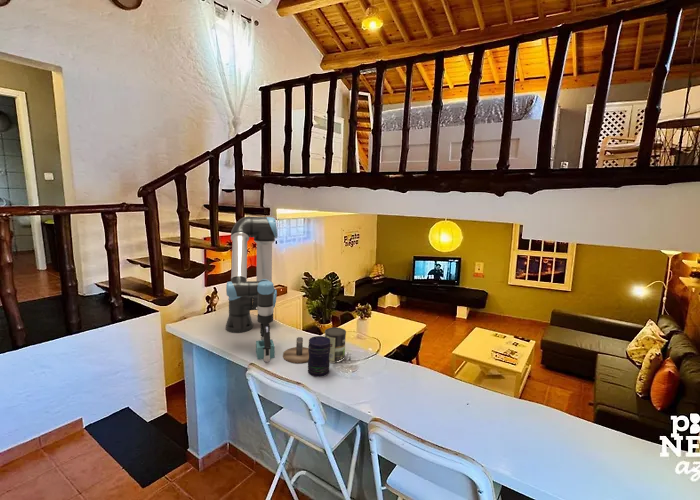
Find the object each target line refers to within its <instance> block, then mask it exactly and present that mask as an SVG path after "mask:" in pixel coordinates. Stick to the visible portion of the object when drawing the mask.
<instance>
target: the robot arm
mask: <svg viewBox="0 0 700 500" xmlns="http://www.w3.org/2000/svg"><path fill="white" fill-rule="evenodd" d="M230 232H231V233H230V241H232V244H231V245H232V248H231V250H232V251H231V272H230V273H231V276H230V281H227V282H226V285H225V286H226V287H225V288H226V293H225V294H226V296H227V297H228V299H227V300H228V317H227V319H226V323H225V330H226V331H227V332H230V333H245V332H248V331H251V330H252V329H253V328H254V322H253V319H252V316H251V311H257V317H256V318H257V320H256V321H257V323H259V324H260V330H259V333H260V340H264V348H263V349H264V359H263V363H266V362H270V361H271V358H270V349H271V345H270V339H271V326H270V324H271V323H273V322H274V308H275V307H276V304H277V297H278V296H277V295H278V293H277V289H275V286H274V283H273V243H274V242H275V241H276V239H277V238H278V237H279V236H278V228H277V221H276V218H275V217H272V216H244V217H242V218H240V219H239V220H238V221H236V223H235V224H234V225H233V227H232V229H231V231H230ZM250 238H253V242H254V243H255V244H256V281H255V280H253V281H252V280H251V281H247V280H248V279H247V278H248V277H247V275H248V272H247V271H248V241H249V240H250Z"/></svg>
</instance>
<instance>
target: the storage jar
mask: <svg viewBox="0 0 700 500" xmlns="http://www.w3.org/2000/svg"><path fill="white" fill-rule="evenodd" d="M307 348H308V352H309V359H308V362H307V374H308V375H310V376H311V377H315V378H321V377H322V378H323V377H325V376H327V375H329V373H330V360H329V353H330V339H329V338H327V337H325V335H321V336H320V335H316V336H312V337H310V338H309V339H308V347H307Z"/></svg>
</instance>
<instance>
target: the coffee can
mask: <svg viewBox="0 0 700 500" xmlns="http://www.w3.org/2000/svg"><path fill="white" fill-rule="evenodd" d="M346 335H347V331H346V330H345V329H344V328H341V327H328V328H326V329H325V330H324V337H327V338H329V339H330V353H329V360H330V363H331V364H336V363H335V362H337V361H339V360H341V359H343V358H344V357H345V356H346V355H345V353H346ZM345 358H346V357H345Z"/></svg>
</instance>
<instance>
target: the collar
mask: <svg viewBox="0 0 700 500" xmlns="http://www.w3.org/2000/svg"><path fill="white" fill-rule="evenodd" d="M270 345H271V349H270V359H273V358H275V351H276V350H275V349H276V348H275V347H276V346H275V344H274V340H273V339H271V338H270ZM263 348H264V340H261V339H260V340H255V354H256V359H257V360H264V349H263Z"/></svg>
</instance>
